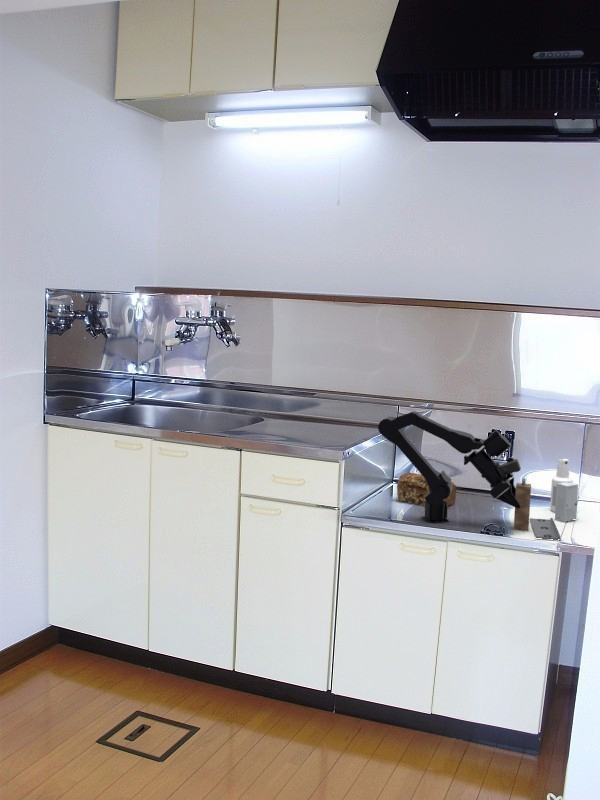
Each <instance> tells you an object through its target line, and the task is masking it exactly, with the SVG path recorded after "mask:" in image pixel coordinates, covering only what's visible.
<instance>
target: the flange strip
mask: <svg viewBox="0 0 600 800" xmlns="http://www.w3.org/2000/svg"><path fill="white" fill-rule="evenodd" d="M529 524H530V525H531V529H532V531H533V534H534V538H535V537H536V538H542V539H553V540H552V541H554V540H558V539H560V540H561V535H560V532H559V530H558V528H557V526H556V523H555V521H554V519H553V517H550V518H549V519H547V518H533V517H531V518H530V517H529ZM536 538H535V539H536Z"/></svg>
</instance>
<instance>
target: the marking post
mask: <svg viewBox="0 0 600 800" xmlns="http://www.w3.org/2000/svg"><path fill="white" fill-rule="evenodd" d="M515 488H516V495H515V498H516V500H517V501H518V503H519V504H520V506H521V507H520V508H519V509H517V508H515V507H514V519H513V531H522V532H529V528H530V513H531V512H530V510H531V493H532V483H531V484H530V483H526V478H522V480H521V483H520V482H516V484H515Z"/></svg>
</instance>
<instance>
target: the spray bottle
mask: <svg viewBox="0 0 600 800" xmlns="http://www.w3.org/2000/svg"><path fill="white" fill-rule="evenodd" d="M569 461H570V459H568V458H563V459H561V458H558V460H557V462H558V463H557V465H556V476H553V477H552V478H551V489H550V490H551V491H550V505H549V508H550V509H549V510H550V511H551V512H553V513H555V506H556V487H557V483H565V482H570V483H574V480H573V479H572V478H571V477H570V464H569V463H570V462H569Z"/></svg>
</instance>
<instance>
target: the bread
mask: <svg viewBox="0 0 600 800" xmlns="http://www.w3.org/2000/svg"><path fill="white" fill-rule="evenodd" d="M451 482H452V485H453V489H452V492H451V493H450V495H449V496H448V497H447V498H446V499H444V501H446V502H447V506H448V507H449V505H451V506H453V505H455V502H456V499H457V485H456V484H455V483H454V482H453V481H451ZM430 491H431V490H430V488H429V486H428V484H427V482H426V480H425V478H424V477H423V476H422V474H421V473H415V472H406V473H404V474H401V475H400V476H399V478H398V482H397V485H396V495H397V500H398V501H399V502H401V503H402V502H406V503H409V504H413V505H417V504H418V505H417V506H423V505H425V501H426V499H425V497H426V496H427V494H428V493H429V492H430Z"/></svg>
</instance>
